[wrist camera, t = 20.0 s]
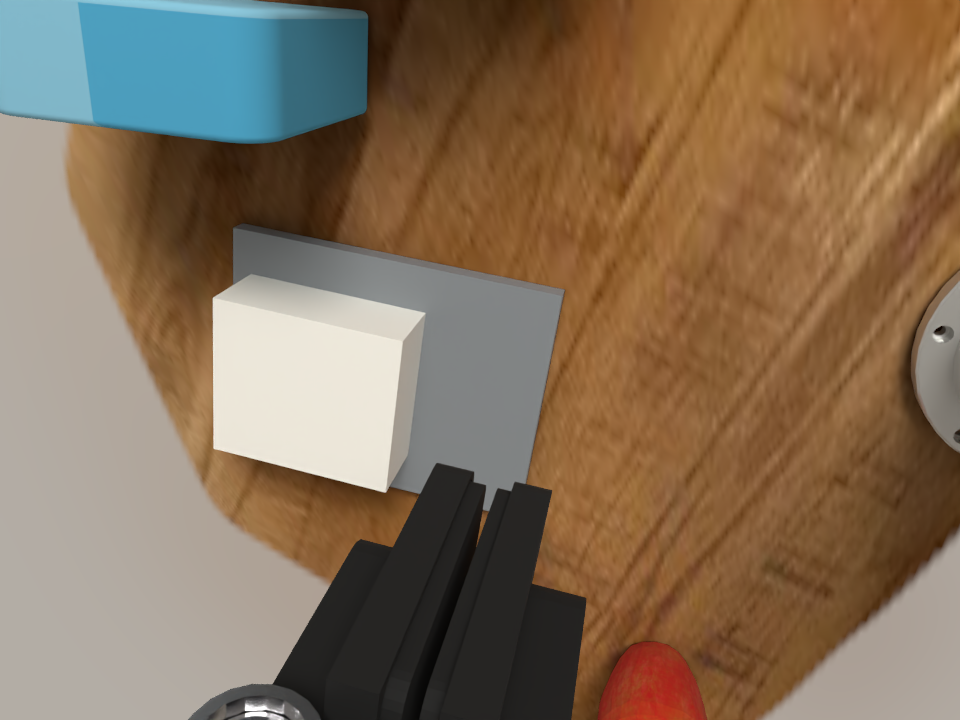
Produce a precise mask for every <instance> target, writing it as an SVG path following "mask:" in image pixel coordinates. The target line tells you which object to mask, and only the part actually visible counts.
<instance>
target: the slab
mask: <svg viewBox="0 0 960 720" xmlns="http://www.w3.org/2000/svg"><path fill="white" fill-rule="evenodd" d="M425 314H426V313H424V312H419V311H415V310H410V309H406V308H401V307H397V306H392V305H388V304H383V303H379V302H374V301H370V300H365V299H361V298H356V297H352V296H348V295H343V294H339V293H334V292H330V291H325V290H321V289H316V288H312V287H307V286H303V285H298V284H294V283H289V282H285V281H280V280H276V279H271V278H267V277H262V276H258V275H253V274H250V275H249V276H247V277H245V278H244V279H242V280H241V281H239V282H237V283H236V284H234V285H233V286H231V287H229V288H228V289H226V290H225V291H223V292H221V293H220V294H218V295H217V296H215V297H213V409H214V449H217V450H221V451H225V452H229V453H233V454H237V455H241V456H245V457H249V458H252V459H256V460H260V461H264V462H268V463H272V464H276V465H280V466H284V467H287V468H291V469H295V470H299V471H303V472H307V473H311V474H315V475H319V476H322V477H326V478H330V479H334V480H338V481H342V482H346V483H350V484H354V485H358V486H361V487H365V488H369V489H373V490H377V491H381V492H385V493H386V492H387V490H388V488H389V486H390V485H391V483H392V481H393V480H394V478H395V476H396V474H397V473H398V471H399V469H400V468H401V466H402V464H403V462H404V461H405V459H406V457H407V455H408V450H409V442H410V434H411V426H412V418H413V410H414V402H415V394H416V386H417V378H418V370H419V362H420V354H421V346H422V338H423V330H424V322H425Z"/></svg>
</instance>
